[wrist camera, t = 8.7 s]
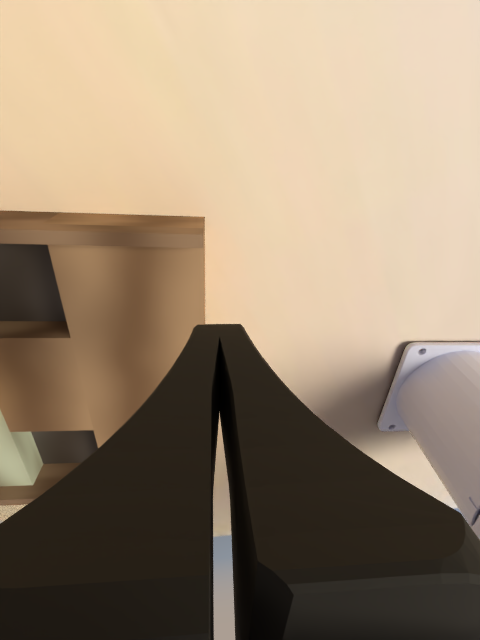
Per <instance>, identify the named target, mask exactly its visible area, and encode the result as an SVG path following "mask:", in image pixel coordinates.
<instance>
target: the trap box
mask: <svg viewBox="0 0 480 640" xmlns="http://www.w3.org/2000/svg"><path fill="white" fill-rule="evenodd" d="M203 324H205V217H183V216H151V215H119V214H88V213H56V212H24V211H0V505H21V504H29V503H31V502H32V501H33V500H35V499H36V498H38V497H39V496H40V495H42V494H43V493H44V492H46V491H47V490H48V489H50V488H51V487H52V486H53V485H55V484H56V483H57V482H59V481H60V480H61V479H62V478H63V477H65V476H66V475H67V474H68V473H69V472H71V471H72V470H73V469H74V468H76V467H77V466H78V465H79V464H80V463H82V462H83V461H84V460H85V459H86V458H88V457H89V456H90V455H91V454H93V453H94V452H95V451H96V450H97V449H98V448H99V447H100V446H102V445H103V444H104V443H105V442H106V441H107V440H108V439H109V438H110V437H111V436H112V435H113V434H114V433H115V432H116V431H117V430H118V429H119V428H120V427H121V426H122V425H123V424H124V423H125V422H126V421H128V419H129V418H130V417H131V416H132V415H133V414H134V413H135V412H136V411H137V410H138V409H139V408H140V407H141V406H142V404H143V403H144V402H145V401H146V400H147V399H148V397H149V396H150V395H151V394H152V393H153V391H154V390H155V389H156V388H157V386H158V385H159V384H160V382H161V381H162V380H163V378H164V377H165V376H166V374H167V373H168V372H169V370H170V369H171V367H172V366H173V364H174V363H175V361H176V360H177V358H178V357H179V355H180V353H181V352H182V350H183V348H184V347H185V345H186V343H187V341H188V339H189V337H190V335H191V333H192V331H193V328H194V327H195V326H196V325H203Z"/></svg>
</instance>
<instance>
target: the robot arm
mask: <svg viewBox="0 0 480 640" xmlns="http://www.w3.org/2000/svg"><path fill="white" fill-rule="evenodd" d="M420 349H422V350H421V351H419V350H420ZM219 411H220V419H221V427H222V435H223V443H224V450H225V458H226V466H227V474H228V481H229V492H230V506H231V531H232V554H233V555H232V556H233V581H234V582H233V583H234V610H235V636H236V637H235V638H236V640H480V342H413V343H410V344H408V345H407V346H406V348H405V350H404V352H403V355H402V358H401V361H400V363H399V366H398V369H397V372H396V374H395V377H394V380H393V383H392V385H391V388H390V391H389V393H388V396H387V399H386V402H385V404H384V407H383V410H382V413H381V415H380V418H379V421H378V423H377V426H378V428H379V430H380V431H410V433H411V434H412V436H413V437H414V439H415V440H416V442H417V444H418V445H419V447H420V448H421V450H422V451H423V453H424V455H425V456H426V458H427V459H428V461H429V462H430V464H431V466H432V467H433V469H434V470H435V472H436V473H437V475H438V477H439V478H440V480H441V481H442V483H443V485H444V486H445V488H446V489H447V491H448V492H449V494H450V496H451V497H452V499H453V500H454V502H455V503H456V505H457V507H458V508H459V510H460V511H461V513H462V514H463V516H464V517H465V519H466V520H465V519H464V517H463V516H462V514H461V513H459V512H458V511H456V510H454V509H452V508H451V507H449V506H447V505H446V504H444V503H442V502H441V501H439V500H437V499H436V498H434V497H432V496H430V495H429V494H427V493H425V492H424V491H422V490H420V489H419V488H417V487H415V486H414V485H412V484H410V483H408V482H407V481H405V480H403V479H402V478H400V477H399V476H397V475H395V474H394V473H392V472H391V471H389V470H388V469H386V468H385V467H383V466H382V465H380V464H379V463H378V462H376V461H375V460H373V459H372V458H370V457H369V456H367V455H366V454H364V453H363V452H362V451H360V450H359V449H357V448H356V447H355V446H353V445H352V444H351V443H349V442H348V441H347V440H346V439H344V438H343V437H342V436H340V435H339V434H338V433H337V432H335V431H334V430H333V429H331V428H330V427H329V426H328V425H326V424H325V423H324V422H323V421H322V420H321V419H319V418H318V417H317V416H316V415H315V414H314V413H313V412H312V411H311V410H309V409H308V408H307V407H306V406H305V405H304V404H303V403H302V402H301V401H300V400H299V399H298V398H297V397H296V396H295V395H294V394H293V393H292V392H291V391H290V390H289V388H288V387H287V386H286V385H285V384H284V383H283V382H282V381H281V379H280V378H279V377H278V376H277V375H276V374H275V372H274V371H273V370H272V369H271V367H270V366H269V365H268V363H267V362H266V361H265V360H264V358H263V357H262V356H261V354H260V353H259V351H258V350H257V349H256V347H255V346H254V344H253V343H252V341H251V339H250V338H249V336H248V335H247V333H246V331H245V329H244V327H243V326H242V325H241V324H203V325H196V326H195V327H194V328H193V331H192V333H191V335H190V337H189V339H188V341H187V343H186V345H185V347H184V348H183V350H182V352H181V353H180V355H179V357H178V358H177V360H176V361H175V363H174V364H173V366H172V367H171V369H170V370H169V372H168V373H167V374H166V376H165V377H164V378H163V380H162V381H161V382H160V384H159V385H158V386H157V388H156V389H155V390H154V391H153V393H152V394H151V395H150V396H149V397H148V399H147V400H146V401H145V402H144V403H143V404H142V406H141V407H140V408H139V409H138V410H137V411H136V412H135V413H134V414H133V415H132V416H131V417H130V418H129V419H128V421H126V422H125V423H124V424H123V425H122V426H121V427H120V428H119V429H118V430H117V431H116V432H115V433H114V434H113V435H112V436H111V437H110V438H109V439H108V440H107V441H106V442H105V443H104V444H103V445H102V446H100V447H99V448H98V449H97V450H96V451H95V452H94V453H93V454H91V455H90V456H89V457H88V458H86V459H85V460H84V461H83V462H82V463H80V464H79V465H78V466H77V467H76V468H74V469H73V470H72V471H71V472H69V473H68V474H67V475H66V476H65V477H63V478H62V479H61V480H60V481H59V482H57V483H56V484H55V485H53V486H52V487H51V488H50V489H48V490H47V491H46V492H44V493H43V494H42V495H40V496H39V497H38V498H36V499H35V500H33V501H32V502H31V503H29V504H28V505H26V506H25V507H23V508H22V509H21V510H19V511H18V512H16V513H15V514H14V515H12V516H11V517H9V518H8V519H6V520H5V521H4V522H2V523H1V524H0V640H214V636H213V635H214V633H213V632H214V631H213V485H214V472H215V460H216V447H217V435H218V422H219ZM467 522H468V523H467ZM469 525H470V526H469Z"/></svg>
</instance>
